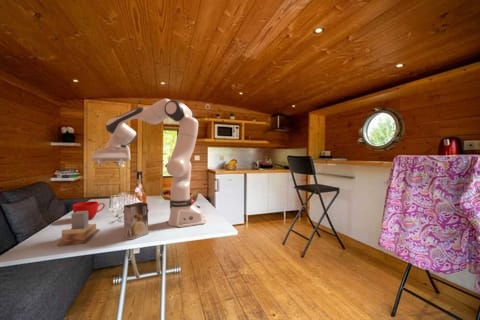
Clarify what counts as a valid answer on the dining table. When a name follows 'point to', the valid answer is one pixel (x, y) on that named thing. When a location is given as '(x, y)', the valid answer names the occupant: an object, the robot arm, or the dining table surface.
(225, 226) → the dining table surface
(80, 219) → the grey block
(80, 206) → the red cup
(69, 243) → the display stand
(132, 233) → the coffee box
